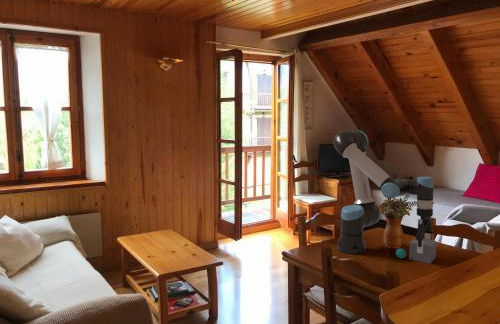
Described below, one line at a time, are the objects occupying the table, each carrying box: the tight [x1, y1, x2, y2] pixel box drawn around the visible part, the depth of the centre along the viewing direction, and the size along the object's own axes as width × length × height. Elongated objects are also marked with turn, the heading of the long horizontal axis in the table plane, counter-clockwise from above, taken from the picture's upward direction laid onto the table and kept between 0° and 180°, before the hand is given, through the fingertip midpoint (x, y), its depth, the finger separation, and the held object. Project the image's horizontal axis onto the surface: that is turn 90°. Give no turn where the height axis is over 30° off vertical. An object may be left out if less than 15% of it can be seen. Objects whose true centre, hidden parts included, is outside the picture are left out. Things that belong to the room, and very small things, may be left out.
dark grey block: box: [408, 237, 437, 265], centre depth 212 cm, size 10×10×9 cm
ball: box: [395, 248, 407, 259], centre depth 213 cm, size 5×5×5 cm
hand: (423, 249), depth 211 cm, fingers open, 13 cm apart
